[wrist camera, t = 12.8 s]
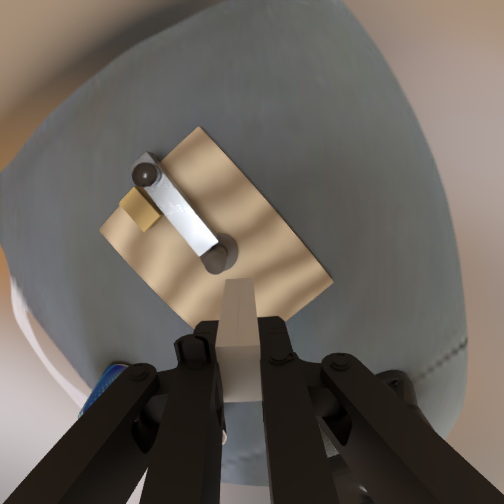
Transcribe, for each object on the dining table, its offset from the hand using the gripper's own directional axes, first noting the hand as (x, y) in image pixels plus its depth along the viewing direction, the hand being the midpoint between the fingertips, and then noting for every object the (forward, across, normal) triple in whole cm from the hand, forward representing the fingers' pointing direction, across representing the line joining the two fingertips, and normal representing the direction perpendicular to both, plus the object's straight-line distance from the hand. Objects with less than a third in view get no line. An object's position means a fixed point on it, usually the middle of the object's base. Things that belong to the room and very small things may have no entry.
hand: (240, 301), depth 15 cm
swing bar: (+20, -8, +5) cm, 22 cm away
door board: (+22, -4, -3) cm, 23 cm away
